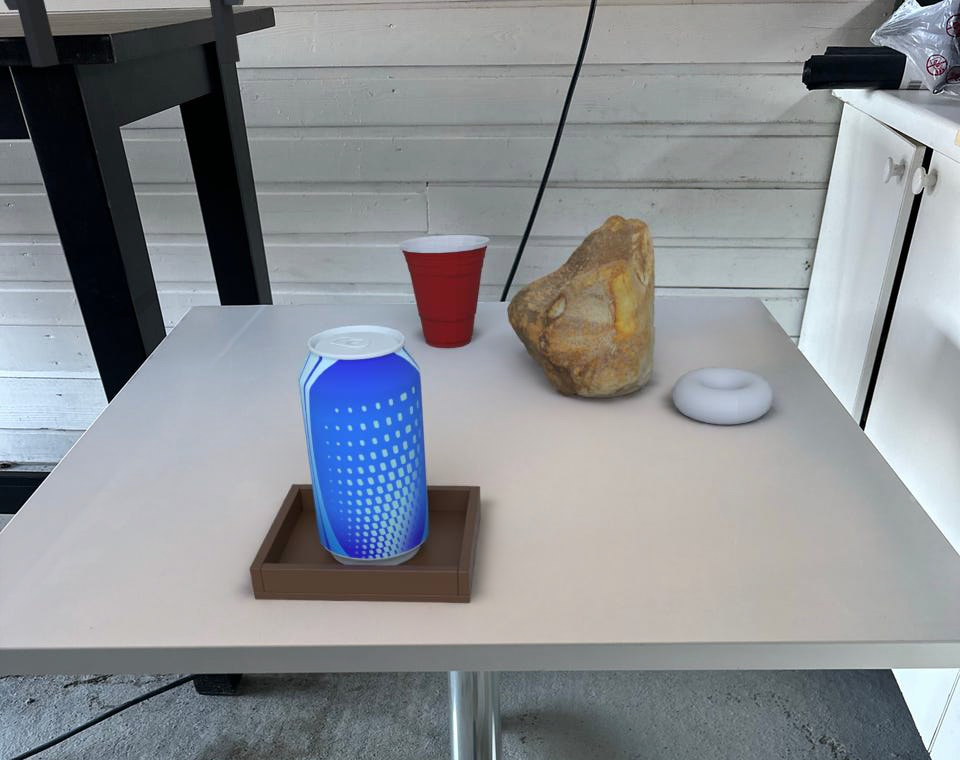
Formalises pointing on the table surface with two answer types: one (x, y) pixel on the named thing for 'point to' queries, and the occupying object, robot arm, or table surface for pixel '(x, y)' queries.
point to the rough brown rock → (594, 314)
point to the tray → (319, 576)
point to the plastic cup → (446, 284)
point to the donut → (722, 395)
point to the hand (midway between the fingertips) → (137, 65)
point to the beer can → (365, 444)
